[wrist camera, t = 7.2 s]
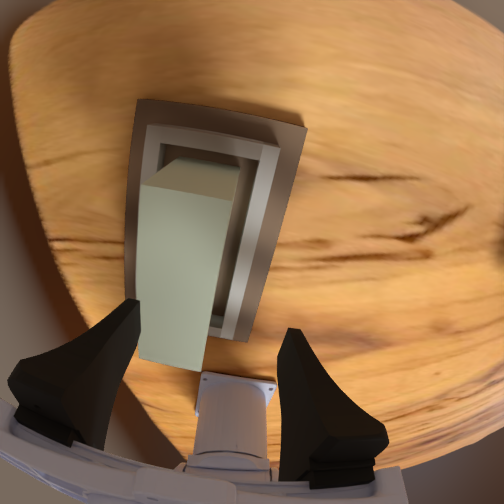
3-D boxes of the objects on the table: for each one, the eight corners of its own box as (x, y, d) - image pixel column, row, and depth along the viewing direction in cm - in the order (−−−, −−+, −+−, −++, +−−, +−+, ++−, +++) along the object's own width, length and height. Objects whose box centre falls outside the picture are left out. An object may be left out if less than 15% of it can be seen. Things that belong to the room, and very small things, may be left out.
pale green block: (213, 304, 23) (200, 372, 17) (164, 294, 23) (139, 358, 17) (240, 167, 18) (232, 201, 12) (179, 156, 18) (141, 184, 12)
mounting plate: (247, 334, 26) (246, 354, 24) (129, 310, 25) (120, 328, 23) (305, 127, 18) (312, 130, 16) (143, 98, 17) (128, 98, 15)
